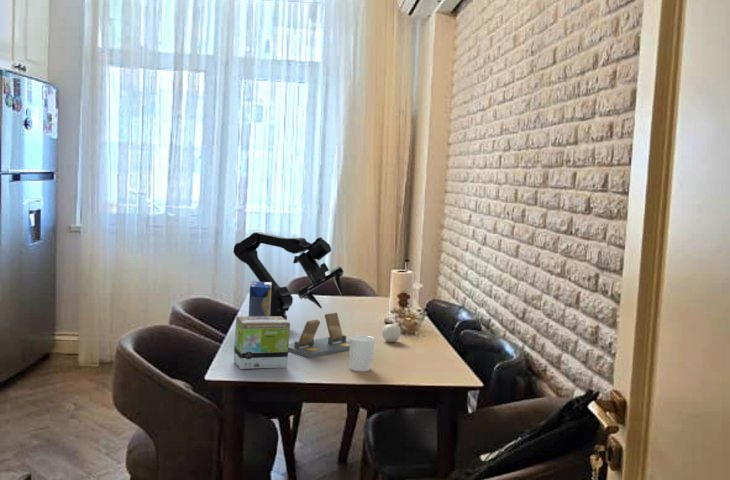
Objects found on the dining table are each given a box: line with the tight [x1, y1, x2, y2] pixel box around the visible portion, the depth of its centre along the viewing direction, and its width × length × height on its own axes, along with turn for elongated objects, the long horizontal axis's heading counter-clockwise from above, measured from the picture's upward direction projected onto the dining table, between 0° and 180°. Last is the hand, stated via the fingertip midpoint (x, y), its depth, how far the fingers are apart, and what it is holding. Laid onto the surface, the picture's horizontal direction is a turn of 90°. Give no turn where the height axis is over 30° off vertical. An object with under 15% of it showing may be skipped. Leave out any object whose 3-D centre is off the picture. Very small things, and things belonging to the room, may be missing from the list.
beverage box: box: [248, 280, 272, 317], centre depth 242 cm, size 7×11×22 cm, turn 6°
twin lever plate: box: [288, 334, 350, 359], centre depth 248 cm, size 14×24×3 cm, turn 137°
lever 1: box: [298, 319, 321, 347], centre depth 241 cm, size 1×5×10 cm, turn 137°
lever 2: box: [324, 312, 344, 342], centre depth 253 cm, size 1×5×10 cm, turn 137°
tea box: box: [233, 316, 291, 370], centre depth 222 cm, size 15×10×15 cm
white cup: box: [348, 334, 375, 372], centre depth 225 cm, size 8×8×10 cm
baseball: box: [381, 323, 402, 343], centre depth 263 cm, size 7×7×7 cm
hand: (332, 301), depth 263 cm, fingers open, 9 cm apart
